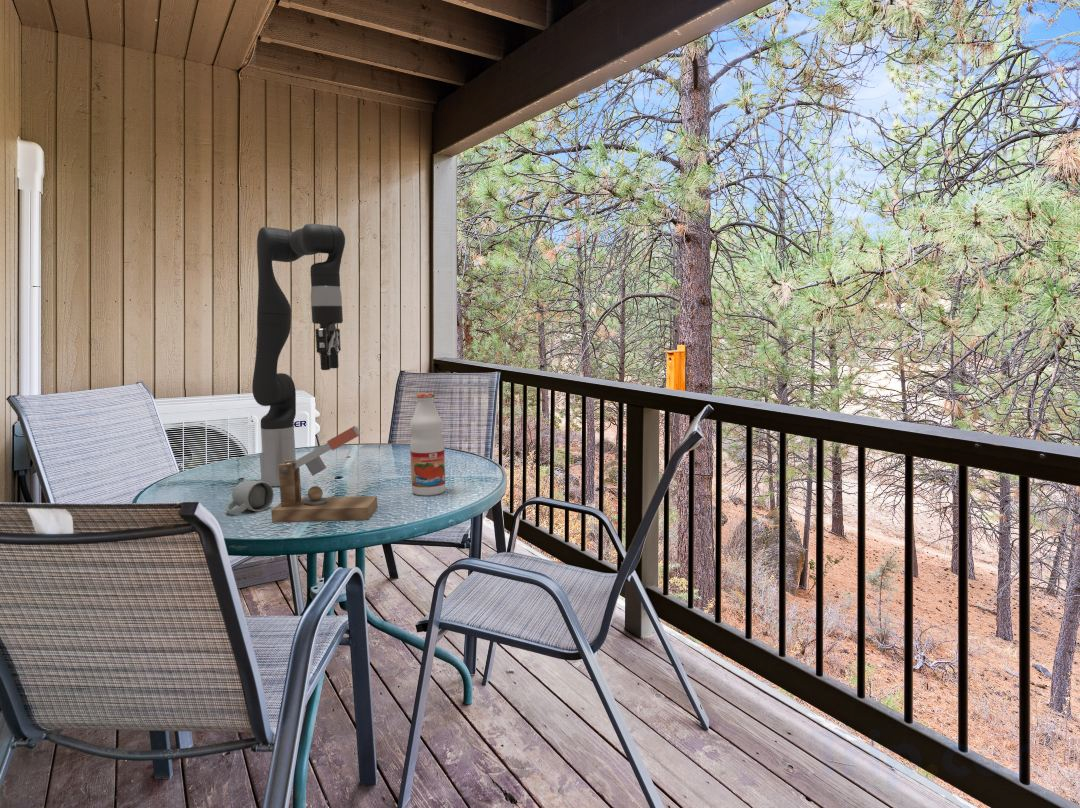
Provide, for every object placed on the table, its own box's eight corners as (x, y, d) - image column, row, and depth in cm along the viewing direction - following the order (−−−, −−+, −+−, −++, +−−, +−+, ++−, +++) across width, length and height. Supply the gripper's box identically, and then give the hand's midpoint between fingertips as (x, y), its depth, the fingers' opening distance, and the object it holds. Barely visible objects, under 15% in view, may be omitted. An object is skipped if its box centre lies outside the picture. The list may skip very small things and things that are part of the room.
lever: (291, 487, 164) (279, 467, 163) (295, 484, 167) (283, 465, 166) (365, 446, 163) (353, 426, 162) (368, 444, 166) (356, 424, 165)
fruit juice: (440, 486, 194) (437, 391, 190) (449, 493, 185) (446, 393, 182) (408, 490, 190) (404, 392, 187) (416, 497, 181) (412, 395, 178)
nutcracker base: (272, 522, 160) (268, 467, 159) (287, 509, 171) (284, 458, 170) (368, 519, 161) (365, 464, 160) (377, 507, 172) (374, 456, 171)
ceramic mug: (256, 503, 178) (254, 475, 177) (275, 507, 174) (273, 478, 173) (219, 513, 169) (216, 484, 168) (238, 518, 165) (235, 488, 164)
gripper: (334, 303, 162) (337, 370, 164) (348, 305, 177) (351, 367, 178) (303, 304, 162) (306, 371, 164) (319, 306, 176) (323, 367, 178)
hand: (330, 369), depth 171 cm, fingers open, 7 cm apart
